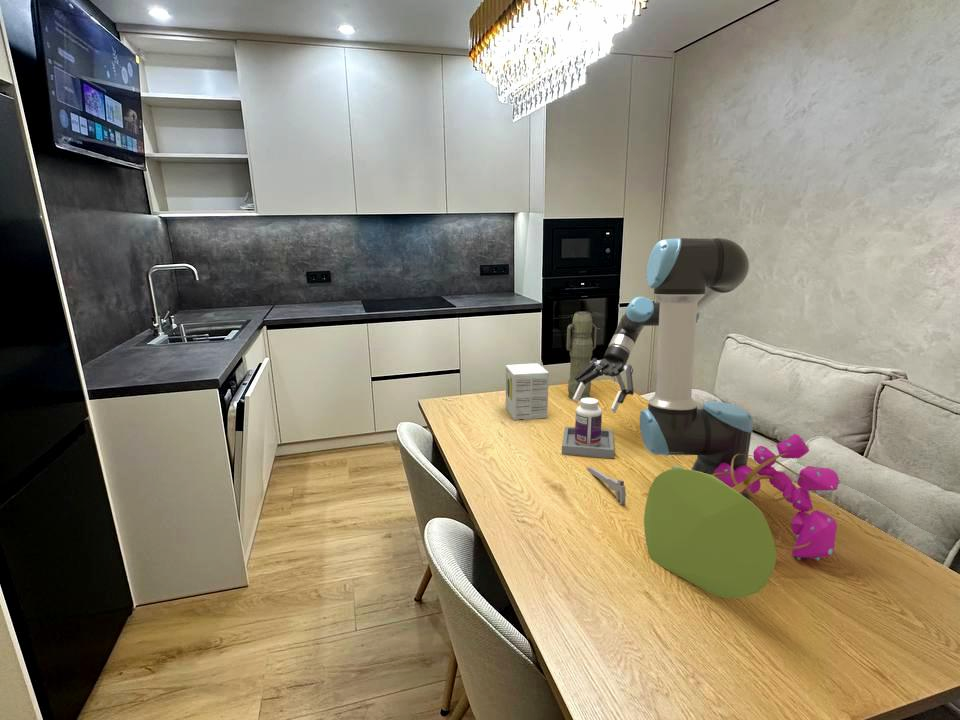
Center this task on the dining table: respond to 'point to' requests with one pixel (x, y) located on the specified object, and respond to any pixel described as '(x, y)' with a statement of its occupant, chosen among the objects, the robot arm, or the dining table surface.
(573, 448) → the tray
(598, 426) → the pill bottle
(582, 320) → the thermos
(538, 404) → the supplement box
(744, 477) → the fallen flowering cactus
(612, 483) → the caliper
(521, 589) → the dining table surface
